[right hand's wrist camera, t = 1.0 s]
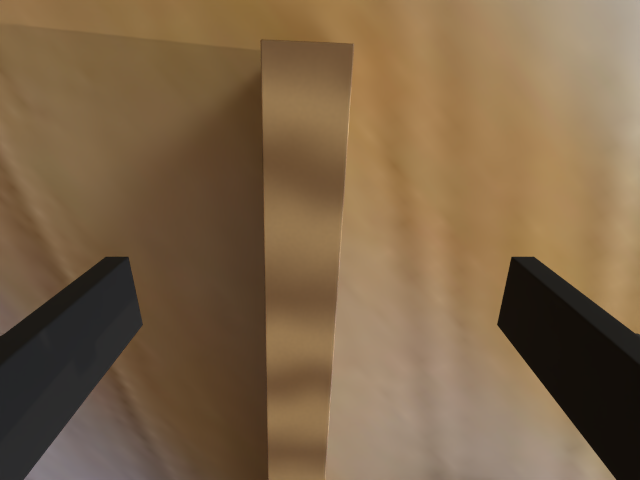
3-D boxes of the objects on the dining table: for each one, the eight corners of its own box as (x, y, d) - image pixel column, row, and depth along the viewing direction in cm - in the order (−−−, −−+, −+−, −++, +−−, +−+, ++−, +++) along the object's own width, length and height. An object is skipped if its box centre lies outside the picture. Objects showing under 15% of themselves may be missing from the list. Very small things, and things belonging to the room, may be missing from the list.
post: (277, 56, 26) (260, 39, 18) (342, 59, 26) (354, 43, 18) (278, 547, 47) (270, 639, 39) (314, 547, 47) (314, 640, 39)
